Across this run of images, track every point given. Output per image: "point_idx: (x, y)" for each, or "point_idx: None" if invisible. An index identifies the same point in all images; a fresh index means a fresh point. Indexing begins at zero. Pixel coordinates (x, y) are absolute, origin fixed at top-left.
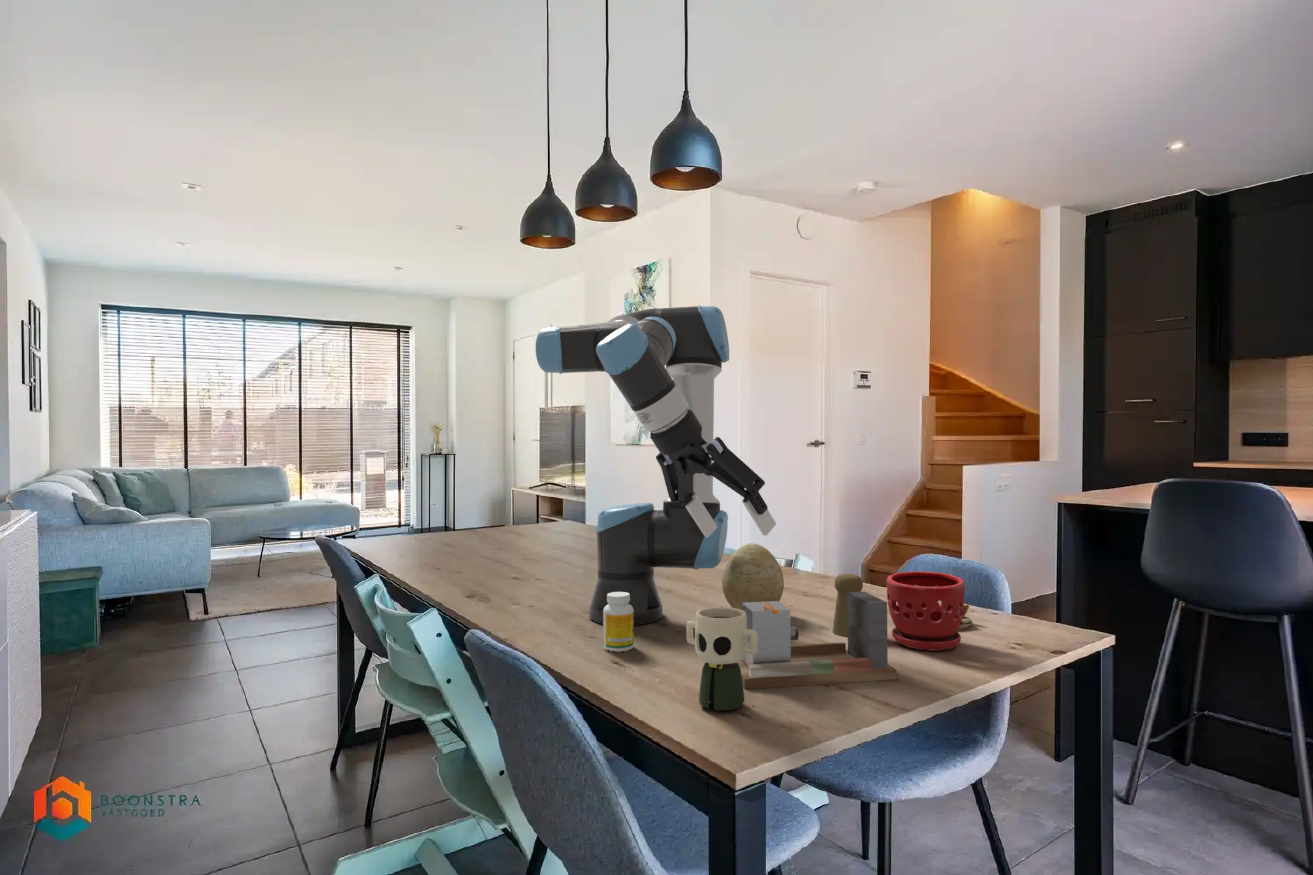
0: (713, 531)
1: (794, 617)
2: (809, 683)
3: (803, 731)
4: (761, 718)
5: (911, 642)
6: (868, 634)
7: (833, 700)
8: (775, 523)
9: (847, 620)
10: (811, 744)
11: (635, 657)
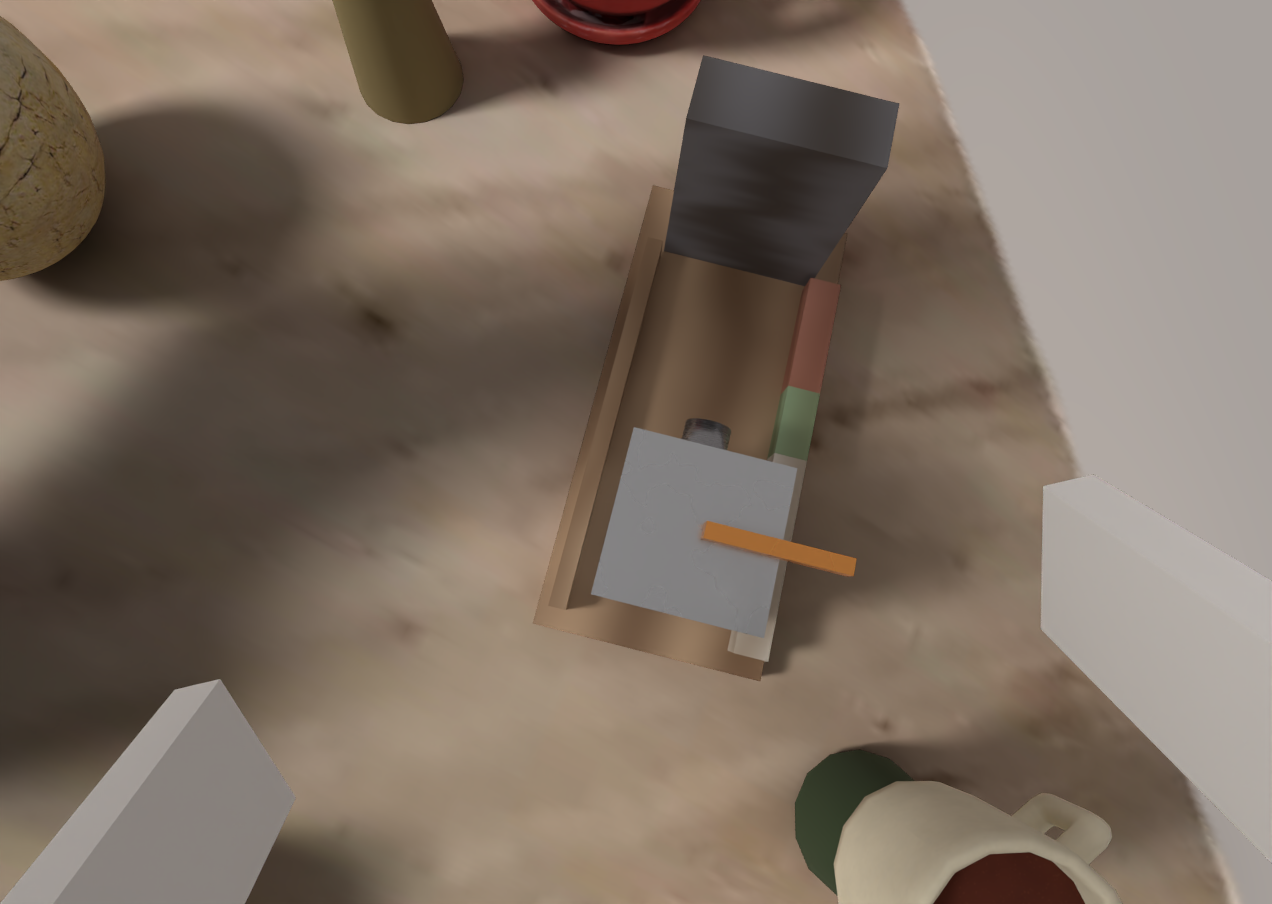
0: (256, 738)
1: (156, 111)
2: None
3: (1083, 697)
4: (973, 754)
5: (652, 34)
6: (837, 235)
7: (918, 495)
8: (1100, 486)
9: (428, 66)
10: None
11: (289, 889)
